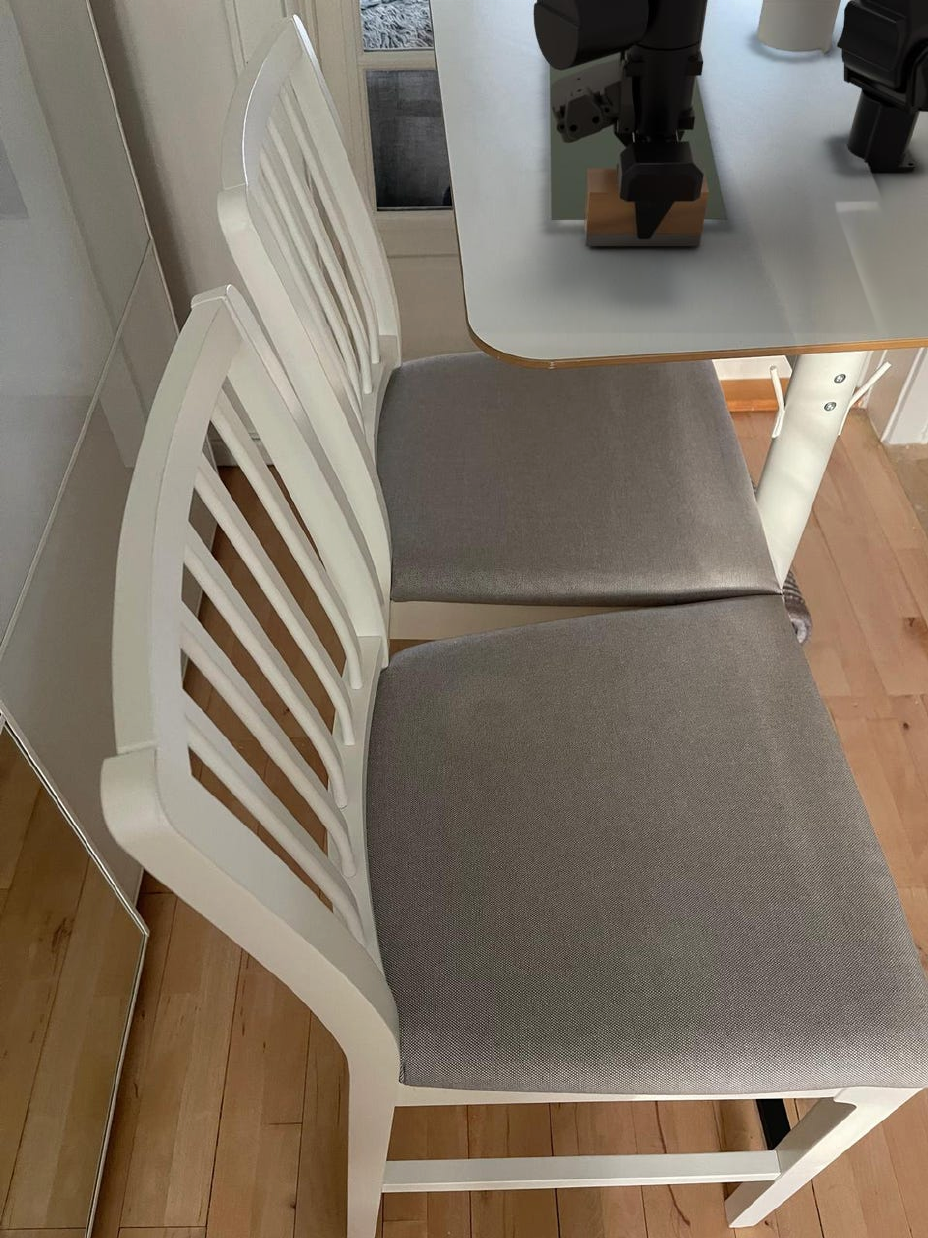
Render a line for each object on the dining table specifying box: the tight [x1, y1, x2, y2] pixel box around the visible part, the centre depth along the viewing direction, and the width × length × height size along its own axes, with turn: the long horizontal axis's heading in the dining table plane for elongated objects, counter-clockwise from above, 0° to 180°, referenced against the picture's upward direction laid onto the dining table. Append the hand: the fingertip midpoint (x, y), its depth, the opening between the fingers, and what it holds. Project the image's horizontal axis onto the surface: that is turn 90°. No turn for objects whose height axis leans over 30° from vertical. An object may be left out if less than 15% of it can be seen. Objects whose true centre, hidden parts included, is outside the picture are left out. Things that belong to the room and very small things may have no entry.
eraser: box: [583, 168, 709, 247], centre depth 86 cm, size 4×10×5 cm, turn 87°
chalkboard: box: [549, 53, 728, 221], centre depth 103 cm, size 40×16×1 cm, turn 177°
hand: (642, 224), depth 87 cm, fingers closed on eraser, 4 cm apart
